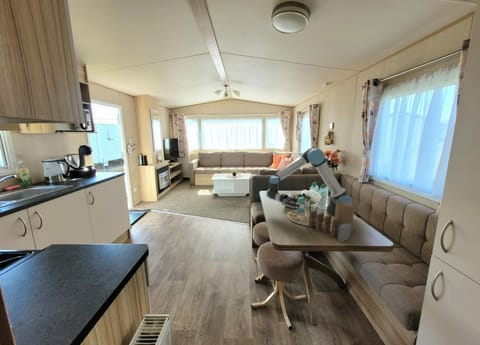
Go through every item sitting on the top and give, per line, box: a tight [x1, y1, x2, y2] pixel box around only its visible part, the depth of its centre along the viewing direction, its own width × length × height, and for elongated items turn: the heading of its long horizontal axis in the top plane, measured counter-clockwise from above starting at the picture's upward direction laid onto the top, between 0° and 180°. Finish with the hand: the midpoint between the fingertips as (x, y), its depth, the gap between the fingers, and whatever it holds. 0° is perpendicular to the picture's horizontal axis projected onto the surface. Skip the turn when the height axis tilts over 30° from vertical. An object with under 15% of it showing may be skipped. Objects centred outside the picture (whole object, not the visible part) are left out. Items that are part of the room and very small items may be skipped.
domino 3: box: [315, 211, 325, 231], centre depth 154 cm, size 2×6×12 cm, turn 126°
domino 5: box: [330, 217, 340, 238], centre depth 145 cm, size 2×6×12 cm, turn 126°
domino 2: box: [308, 209, 318, 228], centre depth 159 cm, size 2×6×12 cm, turn 126°
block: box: [334, 202, 355, 234], centre depth 152 cm, size 10×10×20 cm
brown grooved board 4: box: [322, 214, 333, 234], centre depth 149 cm, size 2×6×12 cm, turn 126°
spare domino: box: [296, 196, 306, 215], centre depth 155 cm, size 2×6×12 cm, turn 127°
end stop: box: [337, 223, 351, 242], centre depth 140 cm, size 9×3×10 cm, turn 126°
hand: (306, 206), depth 151 cm, fingers closed on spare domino, 6 cm apart
